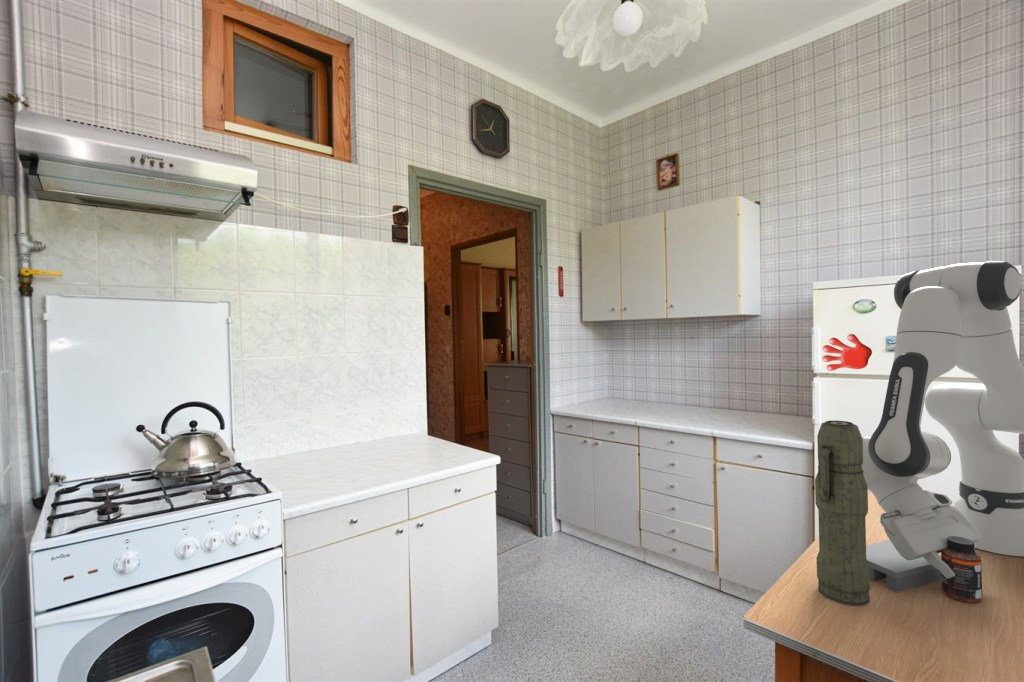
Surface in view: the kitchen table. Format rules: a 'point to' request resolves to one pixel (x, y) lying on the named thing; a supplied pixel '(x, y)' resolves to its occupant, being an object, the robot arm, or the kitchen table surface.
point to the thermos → (842, 515)
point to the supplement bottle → (962, 570)
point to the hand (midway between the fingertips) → (965, 573)
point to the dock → (898, 568)
